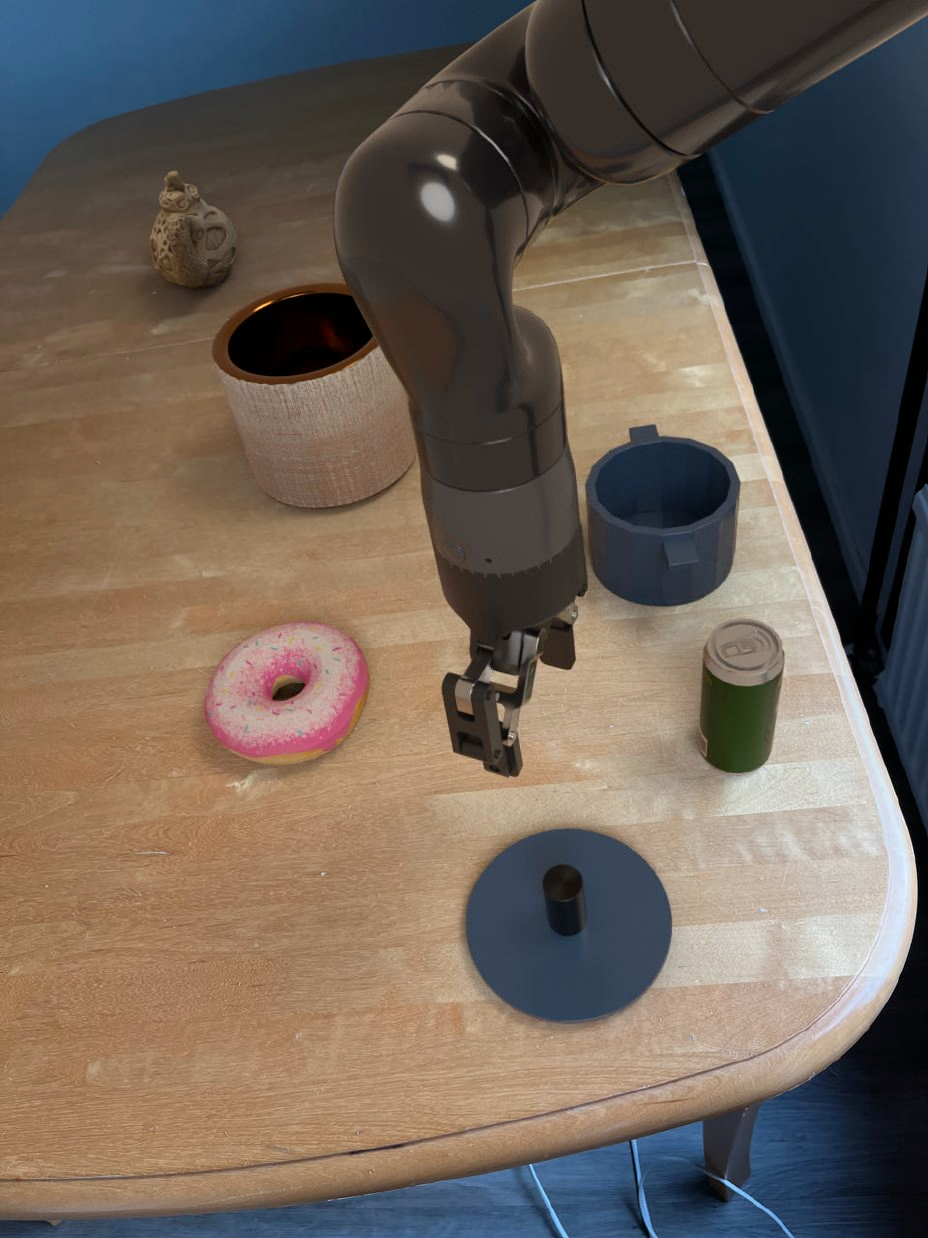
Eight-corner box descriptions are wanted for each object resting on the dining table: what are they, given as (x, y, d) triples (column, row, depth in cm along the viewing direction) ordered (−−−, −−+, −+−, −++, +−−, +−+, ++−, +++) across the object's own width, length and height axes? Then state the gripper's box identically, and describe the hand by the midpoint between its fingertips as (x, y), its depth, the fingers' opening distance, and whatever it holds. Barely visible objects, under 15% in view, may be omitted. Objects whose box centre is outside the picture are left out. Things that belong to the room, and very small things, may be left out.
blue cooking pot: (708, 481, 98) (712, 408, 92) (757, 618, 85) (765, 544, 79) (577, 500, 98) (572, 429, 92) (607, 639, 86) (604, 567, 80)
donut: (209, 788, 81) (188, 752, 78) (223, 661, 90) (205, 623, 87) (376, 763, 81) (363, 726, 77) (372, 638, 90) (361, 599, 86)
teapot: (162, 257, 145) (122, 150, 134) (241, 237, 146) (208, 130, 135) (167, 333, 131) (122, 220, 120) (255, 311, 131) (219, 197, 120)
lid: (650, 824, 74) (650, 777, 69) (692, 1014, 64) (695, 974, 60) (461, 849, 74) (449, 804, 70) (475, 1040, 65) (462, 1002, 61)
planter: (424, 401, 113) (399, 270, 101) (416, 507, 101) (386, 373, 89) (269, 416, 115) (227, 290, 103) (242, 523, 103) (192, 393, 91)
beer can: (715, 788, 75) (724, 686, 66) (686, 732, 79) (690, 628, 70) (784, 766, 75) (801, 662, 67) (751, 712, 79) (763, 606, 70)
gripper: (515, 635, 45) (545, 828, 57) (623, 441, 53) (629, 645, 65) (369, 598, 48) (426, 789, 60) (492, 419, 56) (521, 618, 68)
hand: (532, 713), depth 62 cm, fingers open, 8 cm apart
